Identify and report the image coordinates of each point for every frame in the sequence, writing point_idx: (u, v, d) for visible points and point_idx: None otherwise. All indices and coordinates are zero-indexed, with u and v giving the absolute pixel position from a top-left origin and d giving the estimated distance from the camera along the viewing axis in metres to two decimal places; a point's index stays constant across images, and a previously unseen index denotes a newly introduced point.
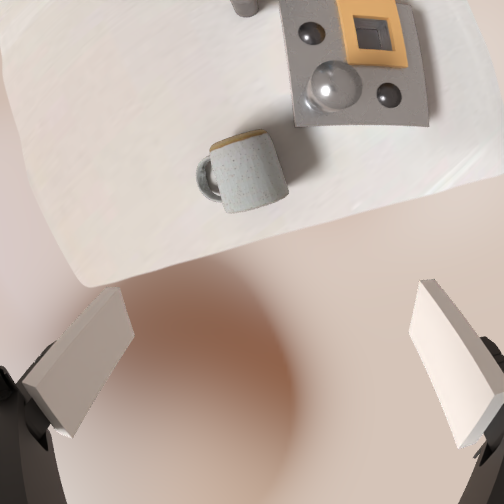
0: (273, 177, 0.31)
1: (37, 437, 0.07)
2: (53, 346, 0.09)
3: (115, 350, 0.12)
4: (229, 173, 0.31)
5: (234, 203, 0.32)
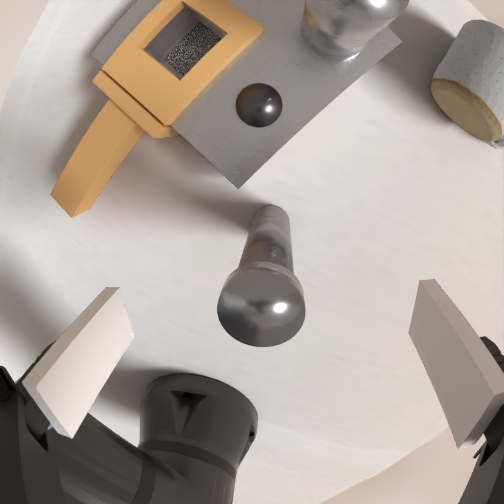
0: (484, 41, 0.12)
1: (37, 437, 0.07)
2: (53, 346, 0.09)
3: (115, 350, 0.12)
4: None
5: None
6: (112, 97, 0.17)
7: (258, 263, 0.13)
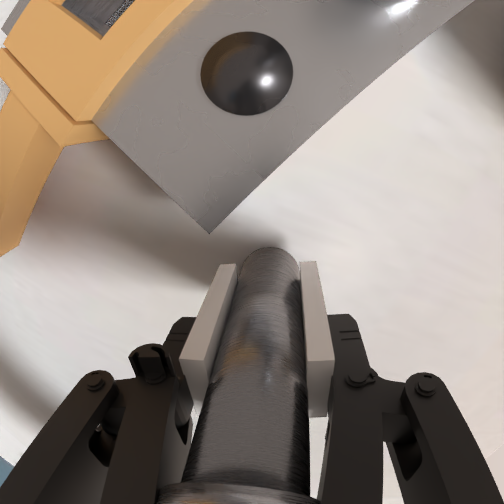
0: None
1: (185, 421, 0.08)
2: (198, 319, 0.10)
3: None
4: None
5: None
6: (11, 85, 0.08)
7: (226, 493, 0.04)
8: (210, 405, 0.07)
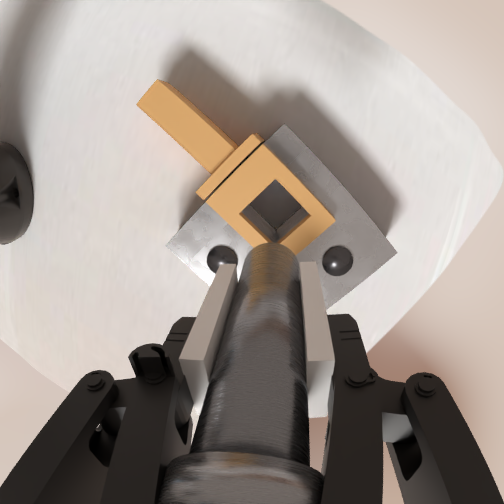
0: None
1: (185, 421, 0.08)
2: (198, 319, 0.10)
3: None
4: None
5: None
6: (232, 155, 0.24)
7: (232, 460, 0.05)
8: (216, 385, 0.08)
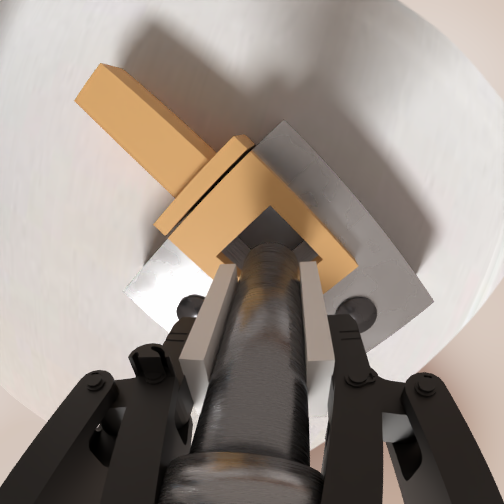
0: None
1: (185, 421, 0.08)
2: (198, 319, 0.10)
3: None
4: None
5: None
6: (204, 169, 0.16)
7: (232, 460, 0.05)
8: (216, 385, 0.08)
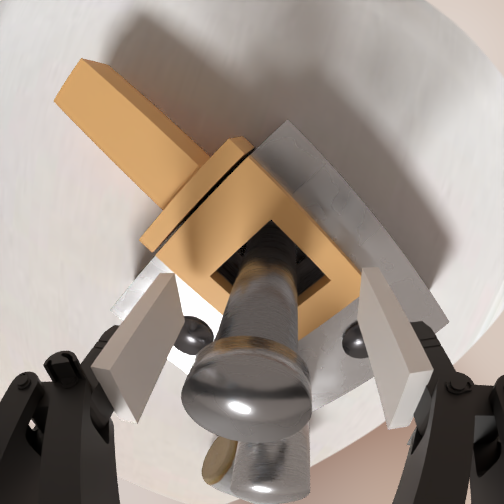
0: None
1: (102, 425, 0.08)
2: (119, 329, 0.10)
3: (171, 334, 0.13)
4: (233, 495, 0.24)
5: None
6: (195, 178, 0.14)
7: (241, 340, 0.08)
8: (229, 309, 0.11)
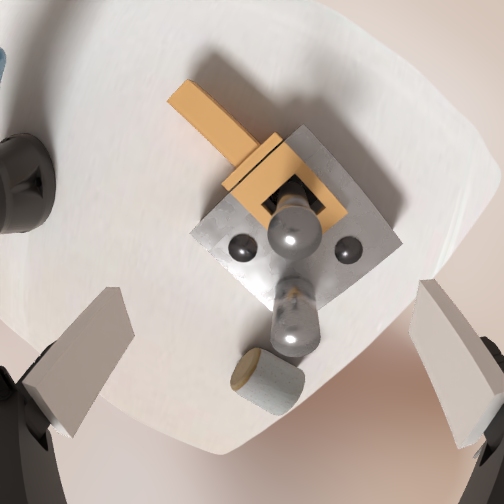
0: (285, 388, 0.36)
1: (37, 437, 0.07)
2: (53, 346, 0.09)
3: (115, 350, 0.12)
4: (254, 401, 0.37)
5: (271, 412, 0.37)
6: (256, 151, 0.27)
7: (293, 204, 0.21)
8: (281, 205, 0.24)
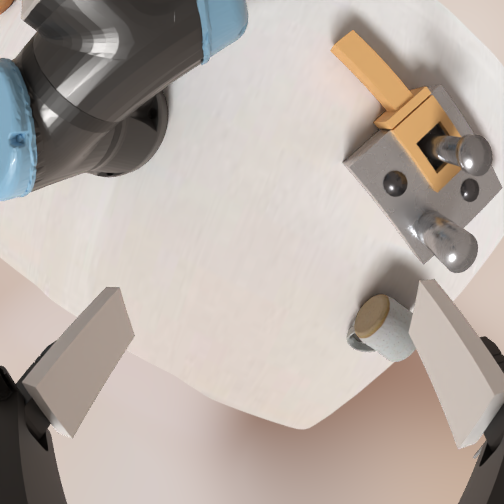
0: None
1: (37, 438, 0.07)
2: (53, 346, 0.09)
3: (115, 350, 0.12)
4: (384, 347, 0.36)
5: (395, 358, 0.37)
6: (413, 98, 0.26)
7: (471, 134, 0.21)
8: (450, 139, 0.24)
